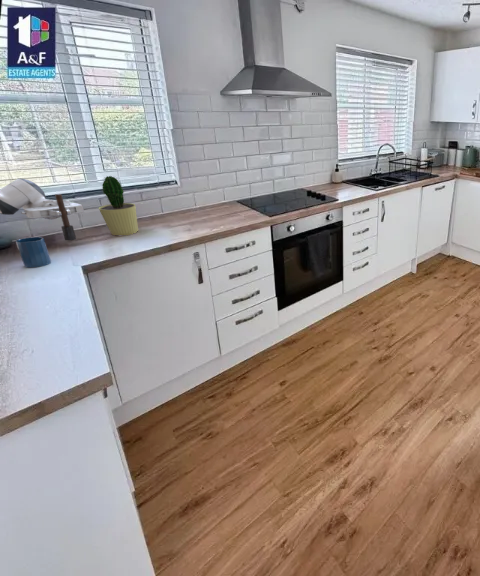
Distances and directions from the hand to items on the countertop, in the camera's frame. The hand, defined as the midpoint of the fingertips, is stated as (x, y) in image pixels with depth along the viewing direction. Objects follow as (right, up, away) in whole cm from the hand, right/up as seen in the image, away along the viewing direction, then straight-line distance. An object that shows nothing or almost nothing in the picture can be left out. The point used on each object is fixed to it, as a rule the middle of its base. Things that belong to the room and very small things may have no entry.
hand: (64, 213), depth 163 cm
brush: (-1, -11, +5) cm, 12 cm away
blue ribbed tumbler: (+3, -24, -16) cm, 29 cm away
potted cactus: (+7, -6, +28) cm, 30 cm away
